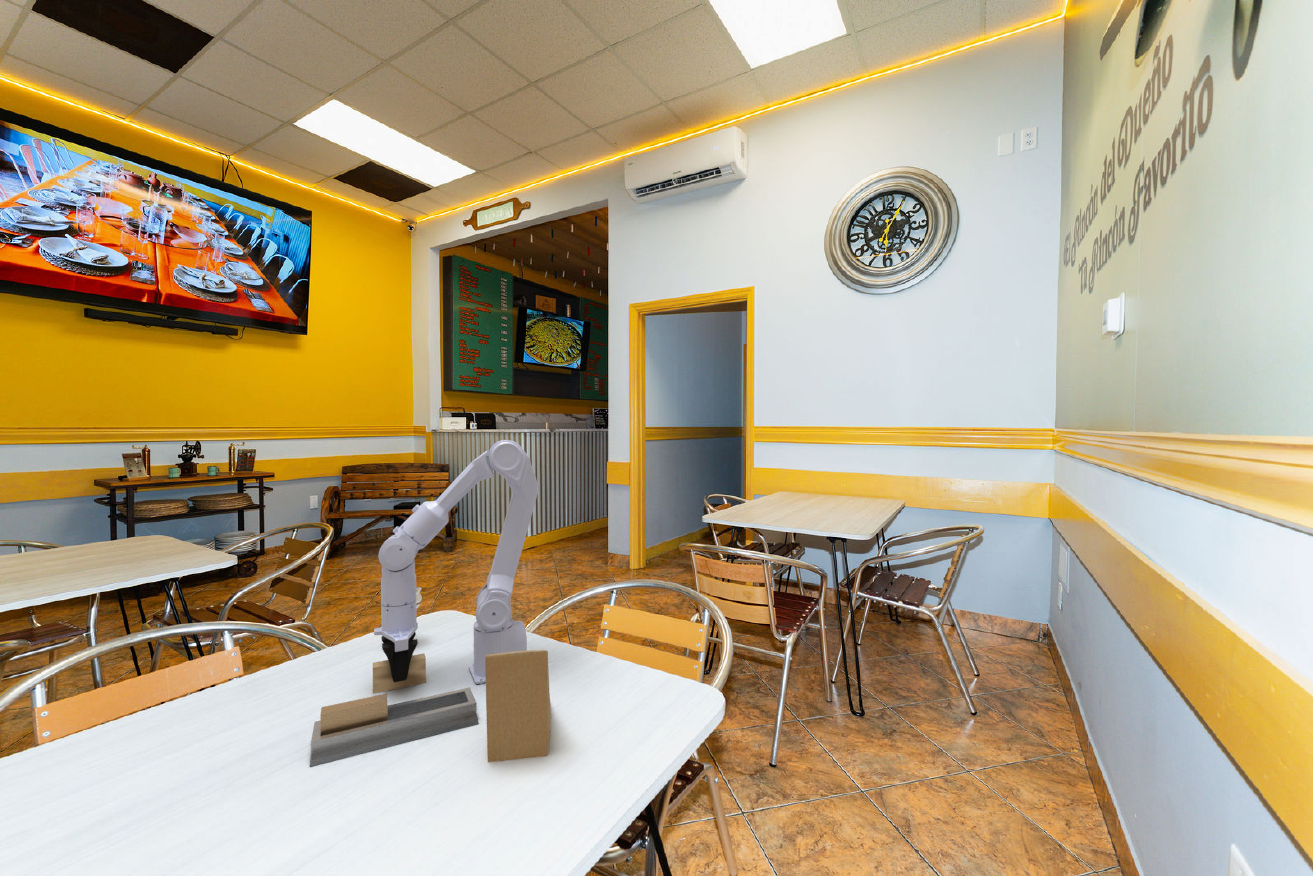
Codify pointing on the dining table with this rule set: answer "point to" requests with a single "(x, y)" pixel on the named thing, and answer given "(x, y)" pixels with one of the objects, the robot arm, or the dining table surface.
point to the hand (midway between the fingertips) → (399, 677)
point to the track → (387, 723)
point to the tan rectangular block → (385, 681)
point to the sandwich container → (517, 705)
